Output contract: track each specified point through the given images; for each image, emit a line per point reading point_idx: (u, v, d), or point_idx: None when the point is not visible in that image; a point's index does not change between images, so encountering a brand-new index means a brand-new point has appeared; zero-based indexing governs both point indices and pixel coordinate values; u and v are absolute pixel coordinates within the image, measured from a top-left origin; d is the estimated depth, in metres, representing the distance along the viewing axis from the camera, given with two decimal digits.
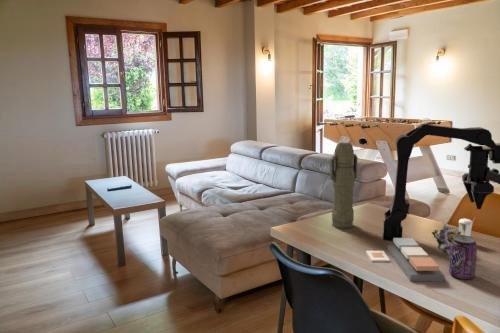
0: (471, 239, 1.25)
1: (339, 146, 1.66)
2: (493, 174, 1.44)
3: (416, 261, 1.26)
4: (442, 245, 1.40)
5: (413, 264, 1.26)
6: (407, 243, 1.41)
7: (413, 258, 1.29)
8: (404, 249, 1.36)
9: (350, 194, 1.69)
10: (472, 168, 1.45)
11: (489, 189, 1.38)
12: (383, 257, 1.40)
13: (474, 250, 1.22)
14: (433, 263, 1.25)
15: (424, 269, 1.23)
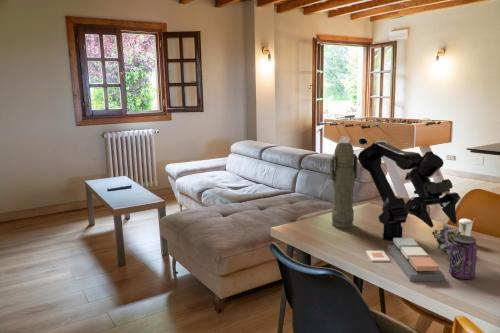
0: (471, 239, 1.25)
1: (339, 146, 1.66)
2: (428, 186, 1.35)
3: (416, 261, 1.26)
4: (442, 245, 1.40)
5: (413, 264, 1.26)
6: (407, 243, 1.41)
7: (413, 258, 1.29)
8: (404, 249, 1.36)
9: (350, 194, 1.69)
10: (414, 192, 1.41)
11: (411, 203, 1.33)
12: (383, 257, 1.40)
13: (474, 250, 1.22)
14: (433, 263, 1.25)
15: (424, 269, 1.23)
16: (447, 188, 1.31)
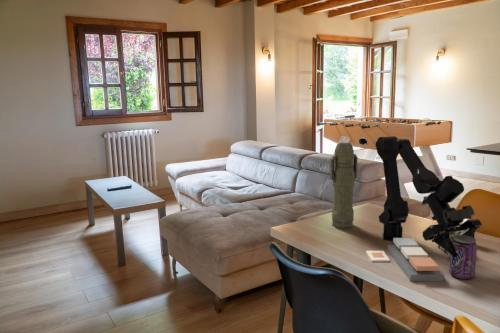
0: (471, 239, 1.25)
1: (339, 146, 1.66)
2: (448, 213, 1.27)
3: (416, 261, 1.26)
4: None
5: (413, 264, 1.26)
6: (407, 243, 1.41)
7: (413, 258, 1.29)
8: (404, 249, 1.36)
9: (350, 194, 1.69)
10: (433, 218, 1.34)
11: (430, 231, 1.25)
12: (383, 257, 1.40)
13: (474, 250, 1.22)
14: (433, 263, 1.25)
15: (424, 269, 1.23)
16: (469, 215, 1.24)
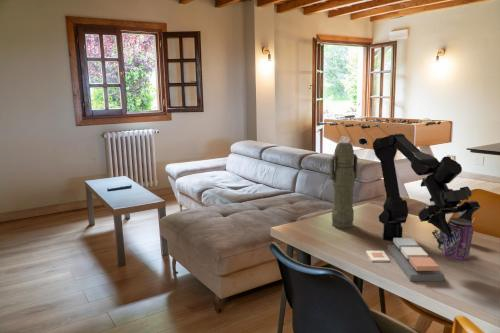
0: (468, 222, 1.23)
1: (339, 146, 1.66)
2: (445, 194, 1.26)
3: (416, 261, 1.26)
4: (442, 245, 1.40)
5: (413, 264, 1.26)
6: (407, 243, 1.41)
7: (413, 258, 1.29)
8: (404, 249, 1.36)
9: (350, 194, 1.69)
10: (430, 199, 1.32)
11: (426, 211, 1.24)
12: (383, 257, 1.40)
13: (470, 232, 1.21)
14: (433, 263, 1.25)
15: (424, 269, 1.23)
16: (465, 196, 1.22)
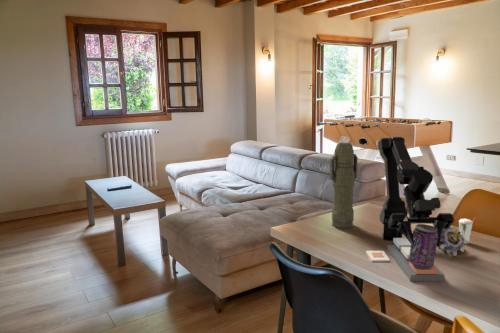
0: (433, 229, 1.23)
1: (339, 146, 1.66)
2: (414, 203, 1.27)
3: None
4: (442, 245, 1.40)
5: (413, 267, 1.26)
6: (407, 243, 1.41)
7: None
8: (404, 249, 1.36)
9: (350, 194, 1.69)
10: (406, 208, 1.34)
11: (391, 218, 1.28)
12: (383, 257, 1.40)
13: (431, 240, 1.21)
14: (433, 266, 1.25)
15: (424, 272, 1.24)
16: (431, 207, 1.22)
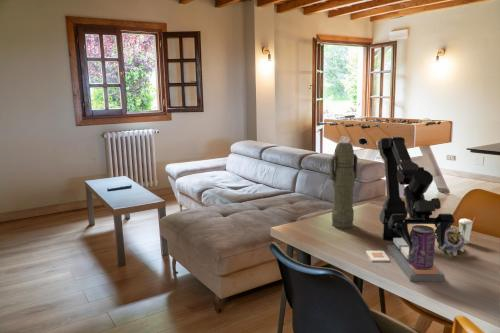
0: (430, 230, 1.23)
1: (339, 146, 1.66)
2: (414, 204, 1.27)
3: None
4: None
5: (413, 268, 1.26)
6: None
7: None
8: (404, 249, 1.36)
9: (350, 194, 1.69)
10: (407, 209, 1.34)
11: (391, 219, 1.28)
12: (383, 257, 1.40)
13: (428, 240, 1.21)
14: (433, 267, 1.25)
15: (424, 273, 1.24)
16: (431, 208, 1.23)
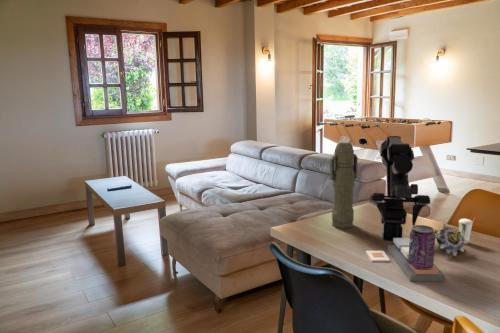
0: (430, 230, 1.23)
1: (339, 146, 1.66)
2: (394, 186, 1.37)
3: None
4: (442, 245, 1.40)
5: (413, 268, 1.26)
6: (407, 243, 1.41)
7: None
8: (404, 249, 1.36)
9: (350, 194, 1.69)
10: None
11: (371, 198, 1.40)
12: (383, 257, 1.40)
13: (428, 240, 1.21)
14: (433, 267, 1.25)
15: (424, 273, 1.24)
16: (408, 195, 1.32)
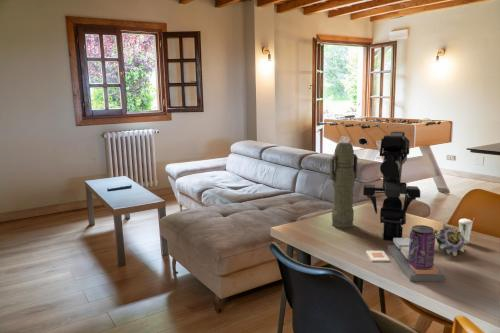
0: (430, 230, 1.23)
1: (339, 146, 1.66)
2: (385, 183, 1.40)
3: None
4: (442, 245, 1.40)
5: (413, 268, 1.26)
6: (407, 243, 1.41)
7: None
8: (404, 249, 1.36)
9: (350, 194, 1.69)
10: None
11: (363, 191, 1.45)
12: (383, 257, 1.40)
13: (428, 240, 1.21)
14: (433, 267, 1.25)
15: (424, 273, 1.24)
16: (396, 195, 1.37)
